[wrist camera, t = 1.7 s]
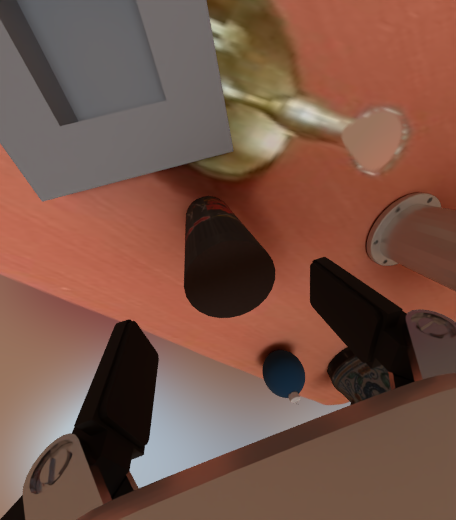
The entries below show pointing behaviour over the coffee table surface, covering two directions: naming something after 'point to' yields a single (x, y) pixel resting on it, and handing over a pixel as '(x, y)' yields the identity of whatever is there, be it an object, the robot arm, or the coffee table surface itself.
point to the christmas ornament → (284, 374)
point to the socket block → (107, 90)
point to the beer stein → (357, 377)
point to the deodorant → (223, 262)
